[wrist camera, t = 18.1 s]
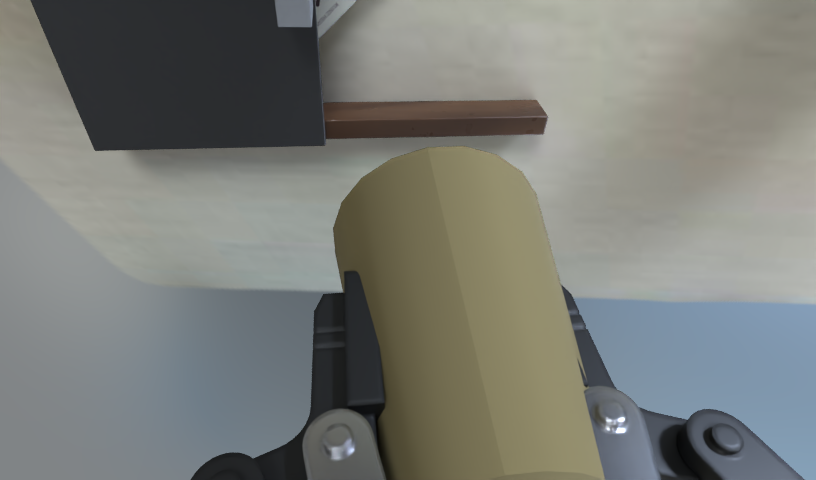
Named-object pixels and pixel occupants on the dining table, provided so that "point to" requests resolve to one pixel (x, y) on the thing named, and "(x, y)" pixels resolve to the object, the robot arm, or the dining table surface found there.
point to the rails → (433, 119)
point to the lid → (190, 71)
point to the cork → (466, 322)
